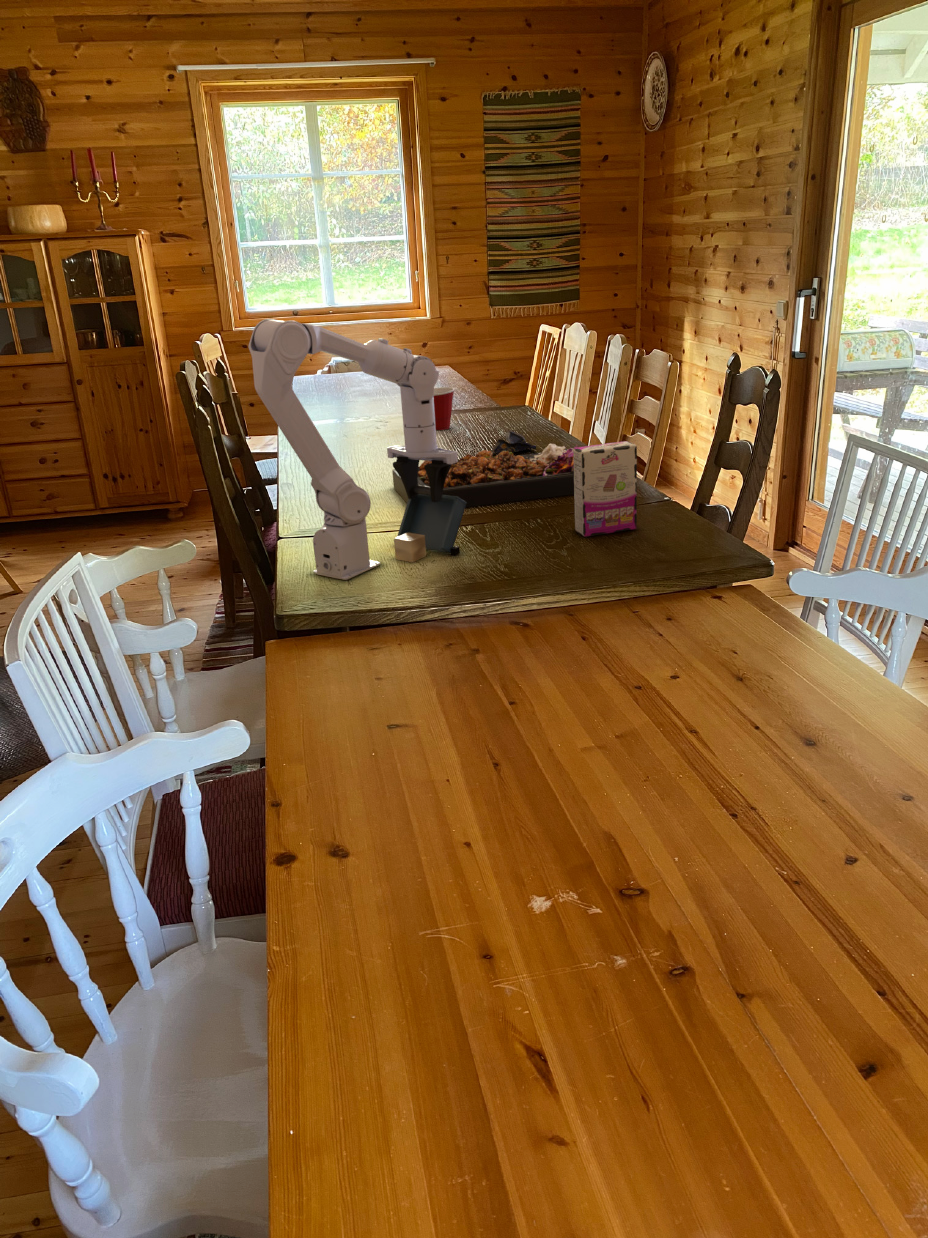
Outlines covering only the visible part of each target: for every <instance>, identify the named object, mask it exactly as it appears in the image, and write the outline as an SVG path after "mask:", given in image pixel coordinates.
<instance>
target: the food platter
mask: <svg viewBox="0 0 928 1238" xmlns="http://www.w3.org/2000/svg"><path fill="white" fill-rule="evenodd" d="M577 447H578V444H576V445H575V447H571V448H568V449H567V448H566V447H565V445H563V446H558V445H556V443H549V444H548V445H547V446H546V447H545V448H544V449H543V450H542V452H537V453H528V454H519V455H514V452H508V451H502V452H501V453H497V455H495V456H493V455H492V452H491V450H486V449H483V450H481V451H479V452H477V453H475V456H473V455H472V454H470V453H467V454H466V455H465V456H462V457H461V458H460V459H457V460H458V462H456V463H453V464H452V466H451V468H450V470H449V472H448V474H447V477H446V480H445V484H444V488H443V493H442V495H448V496H455V497H459V498H460V499H462V500H463V501H465V502H466V506H465V509H466V508H474V507H481V506H490V505H491V506H492V505H497V504H506V503H514V502H524V501H530V500H539V499H547V498H554V497H555V498H556V497H564V496H570V495H574V457H573V448H577ZM430 463H432V461H424V460H423V462H422V463H420V464H419V466H418V485H422V486H430V484H429V480H428V476H427V473H426V470H425V468H424V465H427V464H430ZM391 472H392V486H393V489H394V491H396V493H397V494H398V495H399V496H400V497H401V498H402V500H403V501H404V502H405V503H406V504H407V502H408V496H407V493H406V490H405V487H404V485H403V482H402V480H401V478H400V476H399V474H398V473H397V471H396V470H395V469H394V468H393V469H392V471H391Z"/></svg>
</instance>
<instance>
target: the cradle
mask: <svg viewBox="0 0 928 1238" xmlns="http://www.w3.org/2000/svg"><path fill="white" fill-rule="evenodd" d="M460 548H461V547H460V546H459V545H454V546H453V547H452V548H450V549H451V554H450V556H453V557H456V556H458V555H460V554H461V549H460Z"/></svg>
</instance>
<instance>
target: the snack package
mask: <svg viewBox="0 0 928 1238" xmlns="http://www.w3.org/2000/svg"><path fill="white" fill-rule="evenodd" d="M537 447H538V446H537V445H533V444H531V443H529V442H527V441H526V439H525V437H524V435H521V434H520V433H517V432H515V431H511V430H508V431H507V432H506V434H505V440H504V439H501V438H499V439H498V440H497V441H496V443H495V445H494V446H493V447H492V449H491V450H490V451H491V452H492V456H493V455H494V454H499V453H501V452H502V451H508V452H512V453H516V452H523V451H524V450H527V449H529V451H530V452H532V450H537ZM533 454H536V453H535V451H534V452H533Z"/></svg>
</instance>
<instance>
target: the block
mask: <svg viewBox="0 0 928 1238" xmlns="http://www.w3.org/2000/svg"><path fill="white" fill-rule="evenodd" d="M393 544H394V545H393V546H394V555H395V560H399V561H403V562H409V563H414V562H416V561H419V560H421V559H422V558H425V557H427V549H426V547H425V535H420V534H414V533H405V534H403V535H400V536H398V537H397V536H396V537H394V538H393Z"/></svg>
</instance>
